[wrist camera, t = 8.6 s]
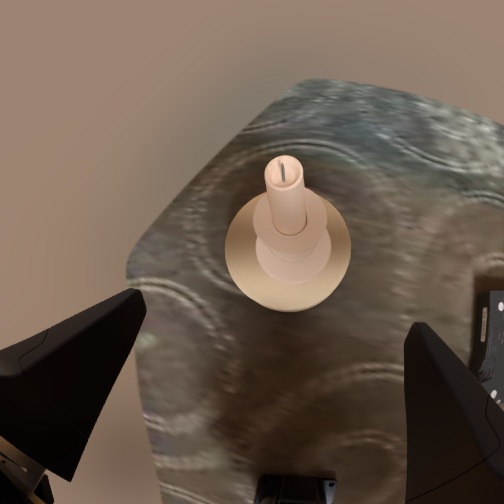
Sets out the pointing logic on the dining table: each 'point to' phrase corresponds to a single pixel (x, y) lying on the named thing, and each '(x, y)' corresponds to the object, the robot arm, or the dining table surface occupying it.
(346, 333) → the dining table surface
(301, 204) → the candle
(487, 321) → the disk drive
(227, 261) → the stand
